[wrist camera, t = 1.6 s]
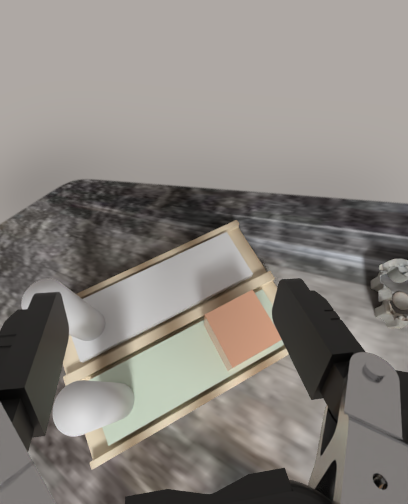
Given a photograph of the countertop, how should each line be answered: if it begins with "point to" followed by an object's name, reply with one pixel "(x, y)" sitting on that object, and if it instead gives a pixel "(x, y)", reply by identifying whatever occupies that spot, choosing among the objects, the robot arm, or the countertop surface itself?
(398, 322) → the egg carton
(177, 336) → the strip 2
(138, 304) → the strip
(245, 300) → the cube
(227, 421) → the countertop surface
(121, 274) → the board
